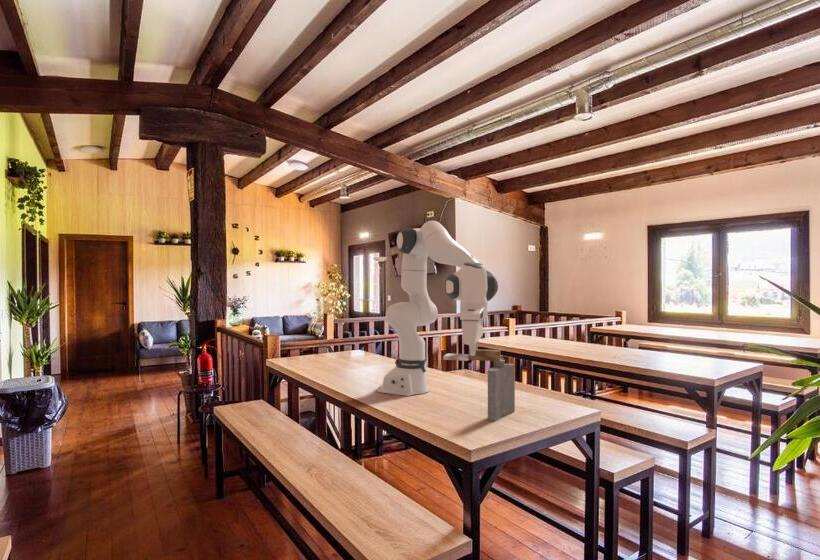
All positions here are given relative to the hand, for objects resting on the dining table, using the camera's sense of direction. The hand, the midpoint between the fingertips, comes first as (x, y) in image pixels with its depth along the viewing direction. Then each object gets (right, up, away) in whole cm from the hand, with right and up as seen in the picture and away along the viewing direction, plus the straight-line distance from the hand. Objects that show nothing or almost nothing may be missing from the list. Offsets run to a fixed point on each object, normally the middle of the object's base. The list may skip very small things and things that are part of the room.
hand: (473, 354), depth 150 cm
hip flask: (+12, -25, +16) cm, 32 cm away
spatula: (0, -2, 0) cm, 2 cm away
